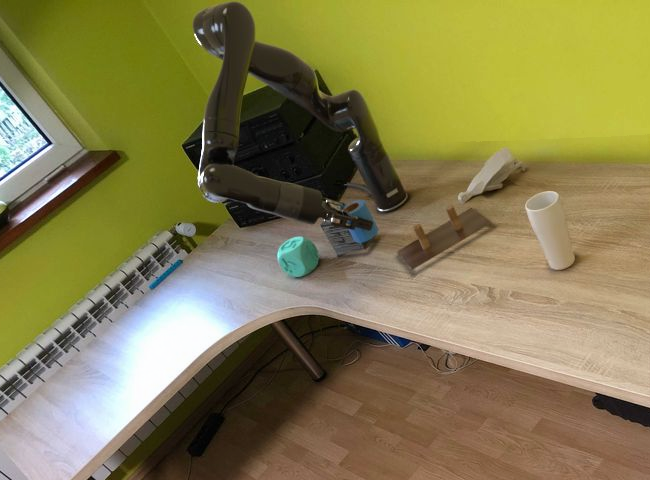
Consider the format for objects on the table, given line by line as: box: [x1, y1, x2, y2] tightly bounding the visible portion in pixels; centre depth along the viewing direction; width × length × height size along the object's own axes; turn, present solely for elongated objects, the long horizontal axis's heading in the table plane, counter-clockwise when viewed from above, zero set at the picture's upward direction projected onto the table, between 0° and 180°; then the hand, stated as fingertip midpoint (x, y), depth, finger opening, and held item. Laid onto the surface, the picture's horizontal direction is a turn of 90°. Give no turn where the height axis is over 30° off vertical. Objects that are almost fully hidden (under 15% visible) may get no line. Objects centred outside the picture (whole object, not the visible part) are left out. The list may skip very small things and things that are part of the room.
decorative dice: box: [276, 236, 320, 278], centre depth 174 cm, size 8×8×8 cm
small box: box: [319, 220, 376, 258], centre depth 169 cm, size 11×6×10 cm, turn 65°
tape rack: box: [396, 204, 492, 271], centre depth 154 cm, size 12×22×8 cm, turn 111°
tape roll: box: [342, 199, 380, 243], centre depth 145 cm, size 6×6×8 cm
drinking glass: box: [524, 190, 576, 271], centre depth 126 cm, size 7×7×15 cm
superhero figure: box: [457, 147, 526, 204], centre depth 164 cm, size 10×9×20 cm
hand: (367, 221), depth 146 cm, fingers closed on tape roll, 6 cm apart
